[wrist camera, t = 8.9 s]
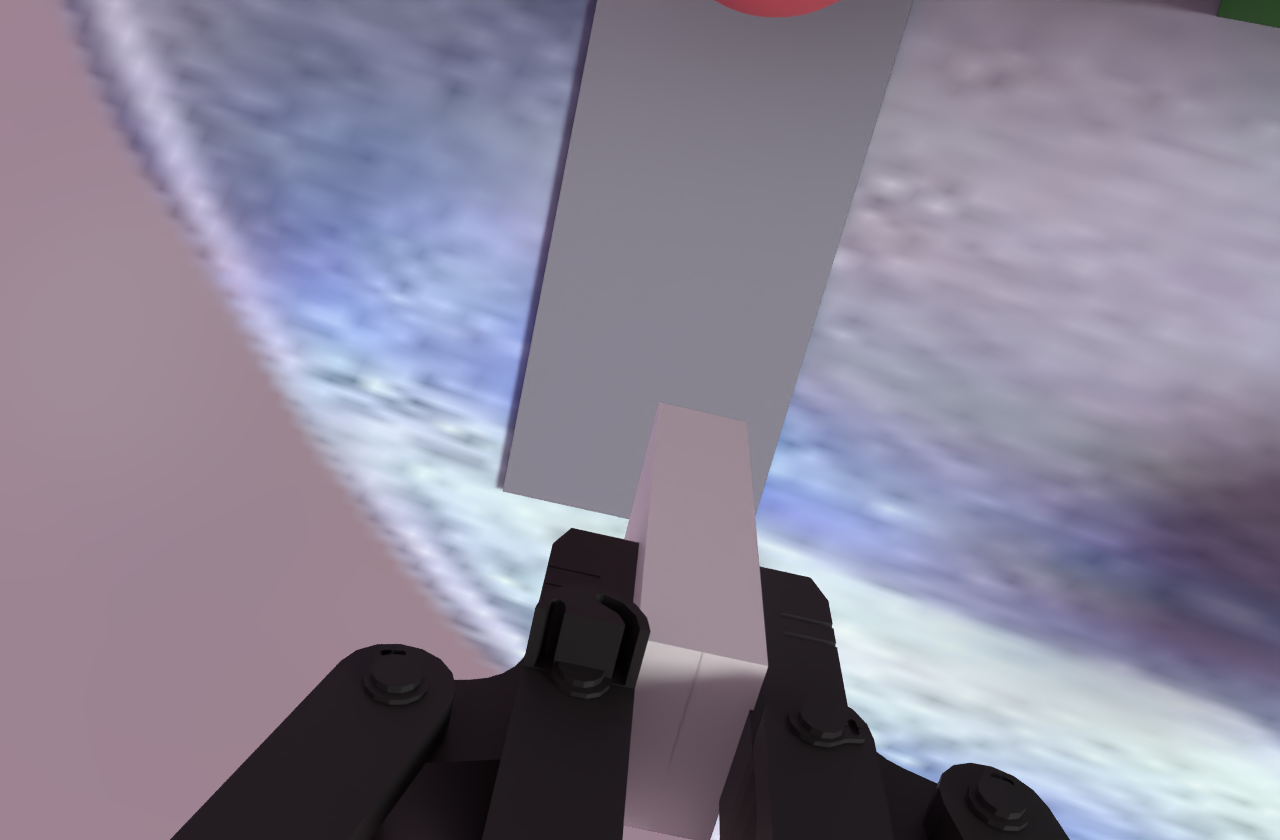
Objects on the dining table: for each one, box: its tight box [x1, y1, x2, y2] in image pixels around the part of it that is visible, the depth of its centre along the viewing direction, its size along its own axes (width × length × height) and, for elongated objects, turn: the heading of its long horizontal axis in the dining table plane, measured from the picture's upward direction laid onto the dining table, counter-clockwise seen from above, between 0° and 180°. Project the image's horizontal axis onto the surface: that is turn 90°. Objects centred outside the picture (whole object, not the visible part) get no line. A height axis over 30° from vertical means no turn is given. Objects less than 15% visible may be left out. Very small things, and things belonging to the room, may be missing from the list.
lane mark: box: [503, 0, 913, 519], centre depth 29 cm, size 28×8×1 cm, turn 168°
